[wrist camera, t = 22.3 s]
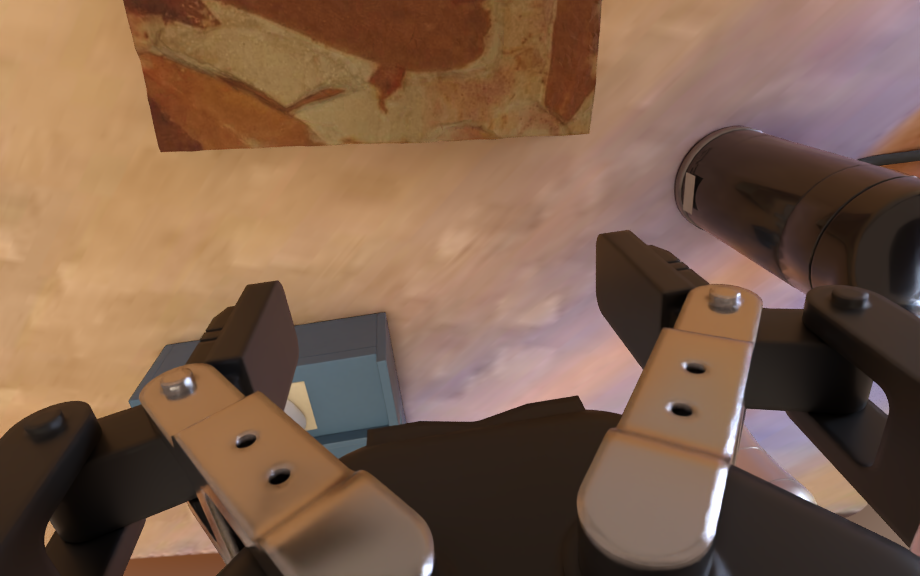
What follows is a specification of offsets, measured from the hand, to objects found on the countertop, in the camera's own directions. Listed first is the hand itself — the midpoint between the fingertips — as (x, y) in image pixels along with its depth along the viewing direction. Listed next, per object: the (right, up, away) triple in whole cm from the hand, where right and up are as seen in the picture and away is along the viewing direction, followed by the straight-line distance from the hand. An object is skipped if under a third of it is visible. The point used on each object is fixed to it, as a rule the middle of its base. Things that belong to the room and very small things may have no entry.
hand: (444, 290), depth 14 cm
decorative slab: (-6, +22, +25) cm, 34 cm away
